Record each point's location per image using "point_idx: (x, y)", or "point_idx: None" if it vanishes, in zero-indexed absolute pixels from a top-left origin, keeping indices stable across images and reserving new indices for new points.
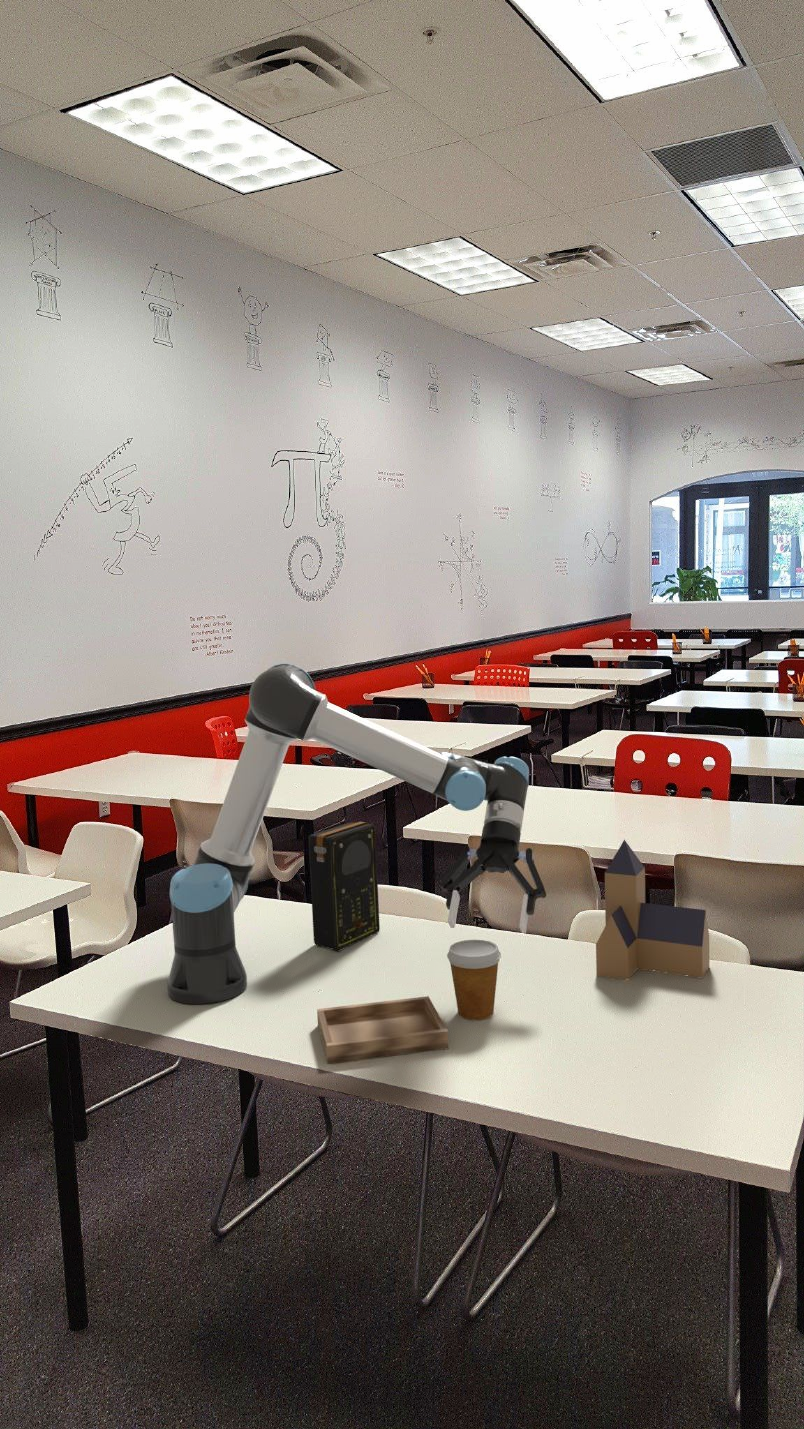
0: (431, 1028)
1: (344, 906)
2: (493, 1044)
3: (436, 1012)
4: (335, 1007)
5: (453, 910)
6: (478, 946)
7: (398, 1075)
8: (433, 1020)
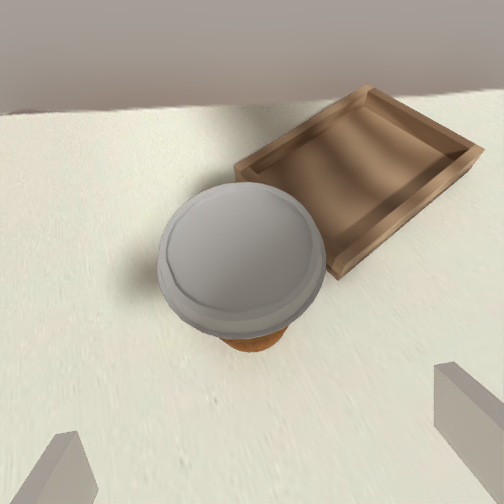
0: None
1: None
2: None
3: None
4: (463, 163)
5: (484, 415)
6: (236, 277)
7: (264, 117)
8: None
